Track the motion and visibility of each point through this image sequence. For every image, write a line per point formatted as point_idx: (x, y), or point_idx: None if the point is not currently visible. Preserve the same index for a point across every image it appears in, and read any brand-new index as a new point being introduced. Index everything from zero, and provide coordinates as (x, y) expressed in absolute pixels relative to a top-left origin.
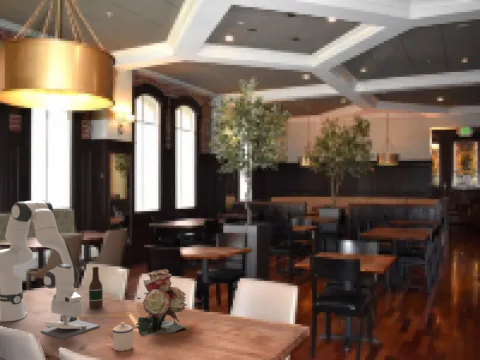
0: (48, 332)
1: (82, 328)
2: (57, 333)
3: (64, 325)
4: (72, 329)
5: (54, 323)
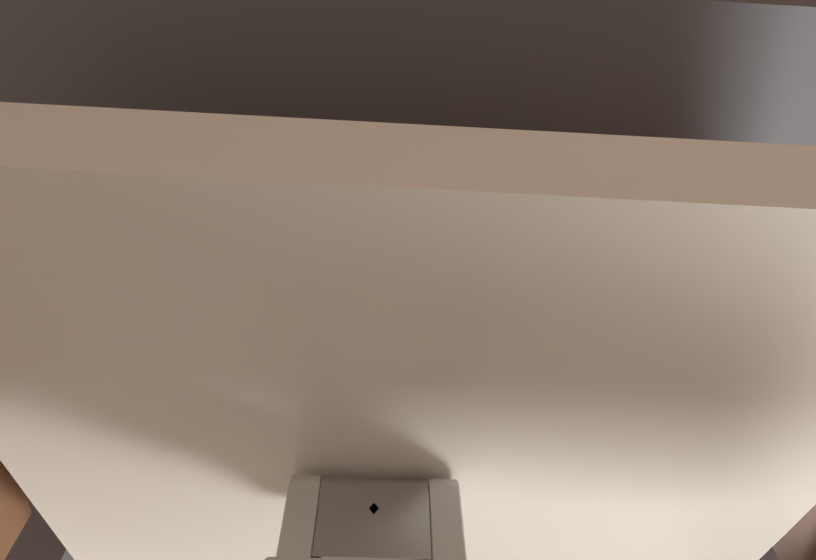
0: (628, 1)
1: (50, 531)
2: (292, 83)
3: (19, 310)
4: None
5: (511, 250)
